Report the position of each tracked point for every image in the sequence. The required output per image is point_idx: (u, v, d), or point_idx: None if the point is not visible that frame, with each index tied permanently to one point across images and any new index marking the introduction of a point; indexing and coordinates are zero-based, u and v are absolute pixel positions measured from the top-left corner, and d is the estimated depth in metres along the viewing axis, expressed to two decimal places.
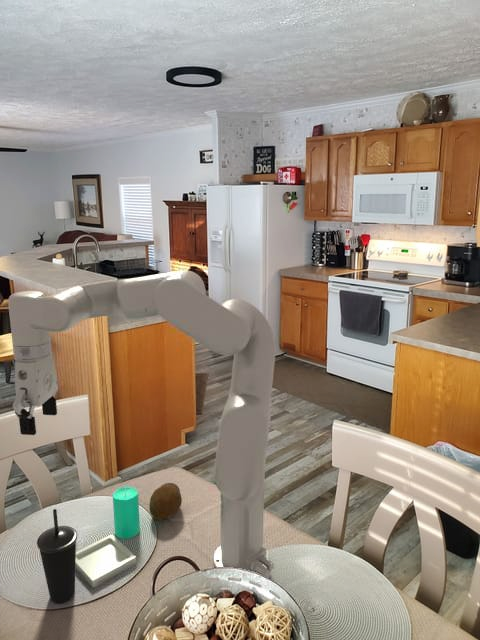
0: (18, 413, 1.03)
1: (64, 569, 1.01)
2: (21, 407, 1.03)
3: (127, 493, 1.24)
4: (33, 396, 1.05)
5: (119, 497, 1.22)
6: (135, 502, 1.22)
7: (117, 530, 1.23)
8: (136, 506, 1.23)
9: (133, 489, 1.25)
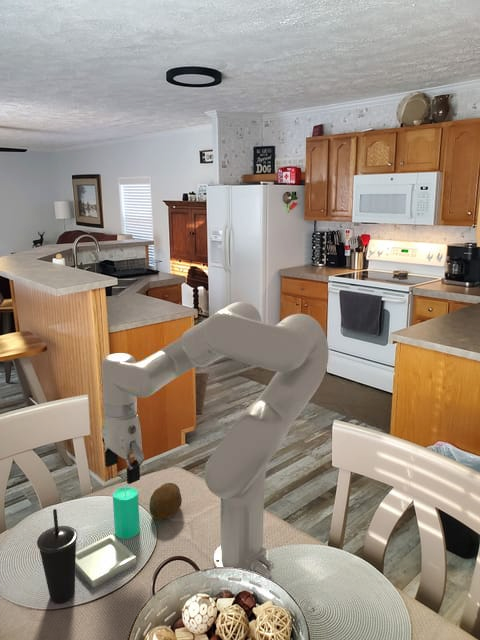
0: (139, 463, 1.15)
1: (64, 569, 1.01)
2: None
3: (127, 493, 1.24)
4: (140, 445, 1.18)
5: (119, 497, 1.22)
6: (135, 502, 1.22)
7: (117, 530, 1.23)
8: (136, 506, 1.23)
9: (133, 489, 1.25)
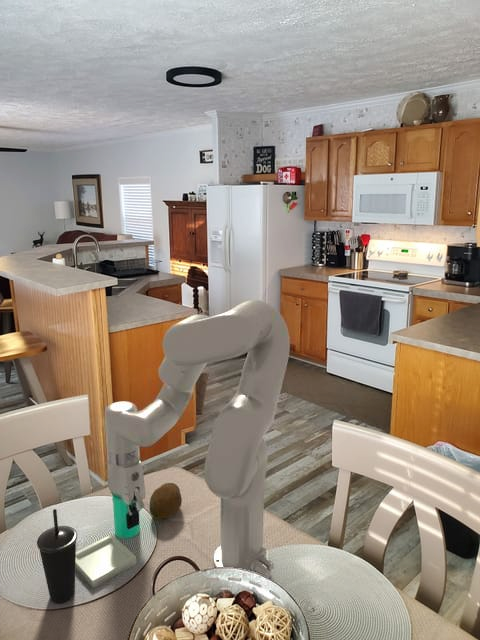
0: (138, 509, 1.19)
1: (64, 569, 1.01)
2: None
3: None
4: (143, 490, 1.20)
5: None
6: None
7: (117, 530, 1.23)
8: None
9: None
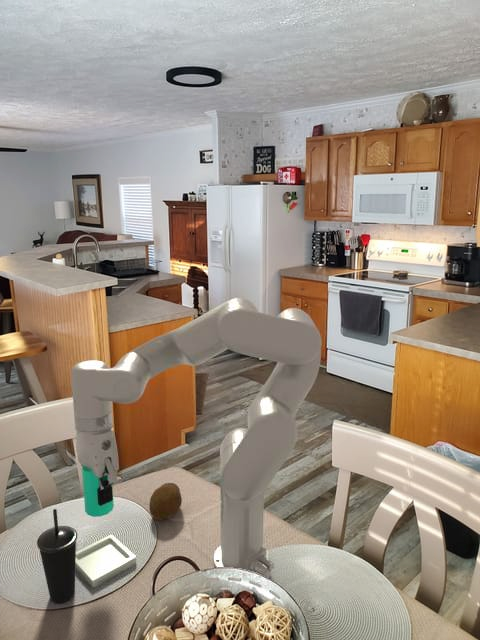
0: None
1: (64, 569, 1.01)
2: None
3: None
4: (116, 462, 1.06)
5: None
6: None
7: (87, 507, 1.09)
8: None
9: None
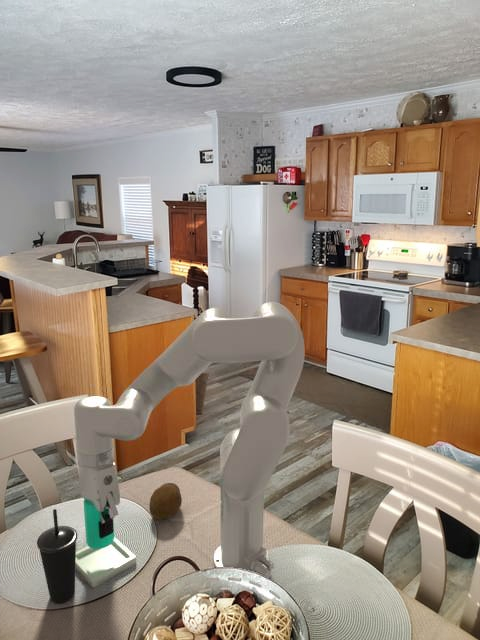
0: (111, 517, 1.07)
1: (64, 569, 1.01)
2: None
3: None
4: (118, 496, 1.08)
5: None
6: None
7: (88, 539, 1.10)
8: None
9: None
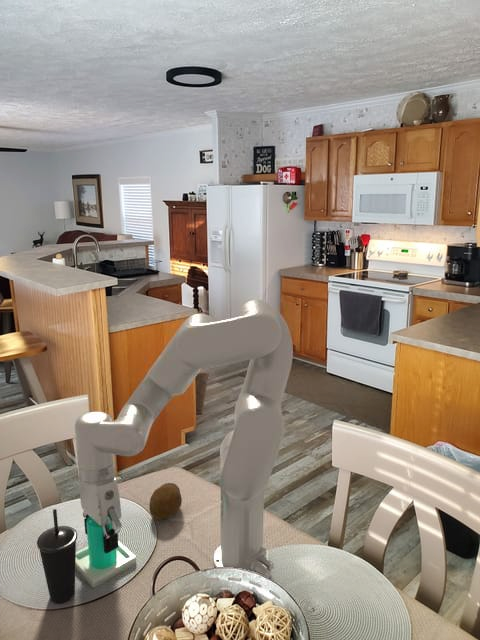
0: (116, 532, 1.07)
1: (64, 569, 1.01)
2: None
3: None
4: (119, 510, 1.09)
5: (93, 524, 1.11)
6: None
7: (91, 560, 1.12)
8: None
9: None
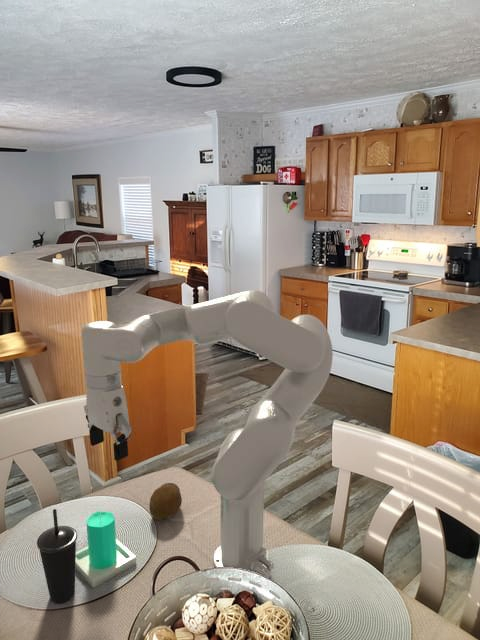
0: (126, 437, 1.07)
1: (64, 569, 1.01)
2: None
3: (103, 518, 1.13)
4: (127, 418, 1.10)
5: (93, 524, 1.11)
6: (111, 529, 1.11)
7: (91, 560, 1.12)
8: (112, 533, 1.12)
9: (109, 514, 1.14)
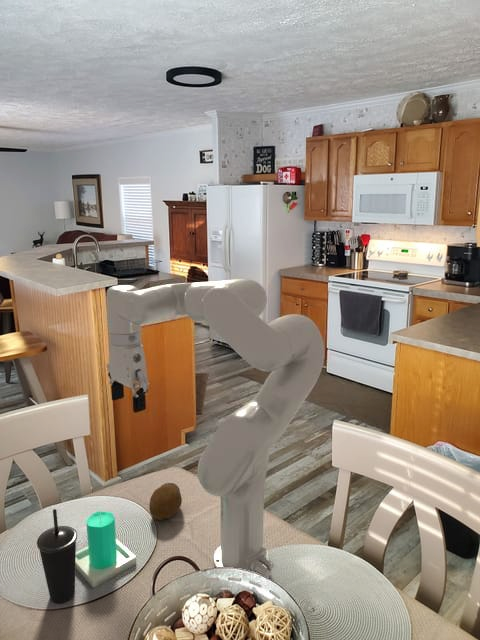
0: (144, 390, 1.18)
1: (64, 569, 1.01)
2: None
3: (103, 518, 1.13)
4: (145, 374, 1.21)
5: (93, 524, 1.11)
6: (111, 529, 1.11)
7: (91, 560, 1.12)
8: (112, 533, 1.12)
9: (109, 514, 1.14)
